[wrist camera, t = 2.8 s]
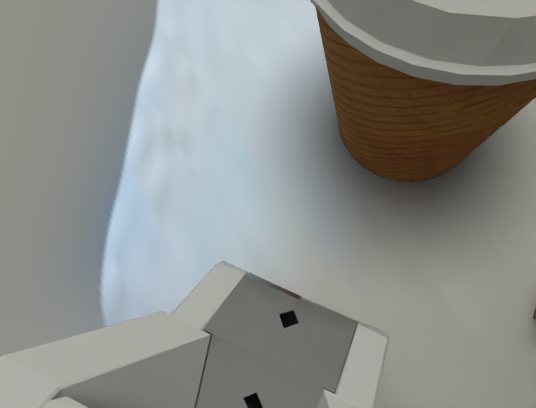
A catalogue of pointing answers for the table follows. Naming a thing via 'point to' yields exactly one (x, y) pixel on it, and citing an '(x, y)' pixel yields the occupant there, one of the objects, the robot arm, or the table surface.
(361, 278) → the table surface
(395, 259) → the table surface
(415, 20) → the disposable coffee cup
